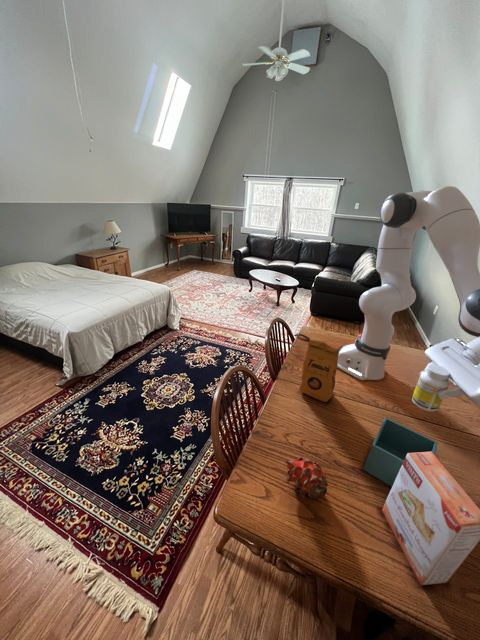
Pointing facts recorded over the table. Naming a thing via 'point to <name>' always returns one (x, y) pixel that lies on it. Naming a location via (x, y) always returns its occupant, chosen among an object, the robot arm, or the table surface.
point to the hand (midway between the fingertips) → (429, 386)
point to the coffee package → (319, 370)
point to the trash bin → (394, 450)
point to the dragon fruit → (307, 477)
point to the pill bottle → (430, 388)
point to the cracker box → (431, 518)
